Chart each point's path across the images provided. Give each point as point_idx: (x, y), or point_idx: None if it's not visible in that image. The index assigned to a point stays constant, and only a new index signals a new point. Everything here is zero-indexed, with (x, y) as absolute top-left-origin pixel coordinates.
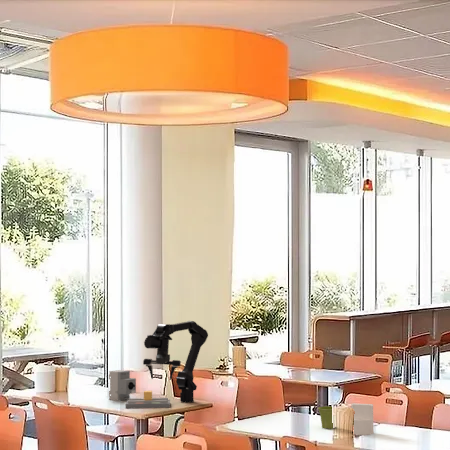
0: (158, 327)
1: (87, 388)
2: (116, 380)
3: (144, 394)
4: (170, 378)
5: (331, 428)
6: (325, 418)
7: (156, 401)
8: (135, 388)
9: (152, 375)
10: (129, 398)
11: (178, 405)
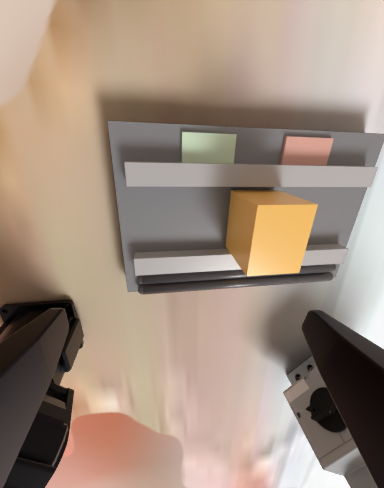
0: None
1: (342, 479)
2: None
3: (301, 200)
4: (37, 321)
5: None
6: None
7: (204, 163)
8: (294, 409)
9: (351, 347)
10: (288, 376)
11: (69, 211)
